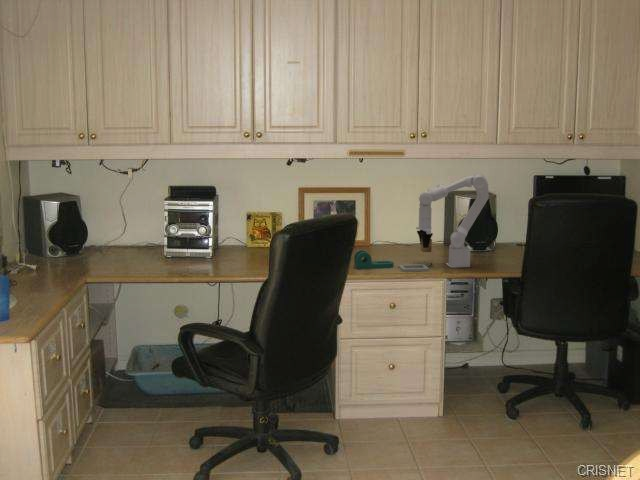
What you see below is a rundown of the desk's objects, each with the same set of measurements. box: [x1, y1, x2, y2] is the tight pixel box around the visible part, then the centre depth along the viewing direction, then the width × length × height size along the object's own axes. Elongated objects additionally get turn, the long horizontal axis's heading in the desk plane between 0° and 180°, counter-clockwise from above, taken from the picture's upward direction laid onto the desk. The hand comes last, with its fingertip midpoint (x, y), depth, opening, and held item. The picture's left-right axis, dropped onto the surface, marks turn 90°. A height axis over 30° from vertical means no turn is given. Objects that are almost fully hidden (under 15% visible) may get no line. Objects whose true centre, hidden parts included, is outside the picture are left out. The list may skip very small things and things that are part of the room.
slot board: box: [398, 263, 430, 273], centre depth 318 cm, size 12×9×1 cm
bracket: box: [353, 249, 394, 270], centre depth 322 cm, size 18×7×8 cm, turn 98°
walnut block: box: [420, 238, 433, 253], centre depth 325 cm, size 4×4×6 cm
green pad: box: [417, 262, 431, 267], centre depth 327 cm, size 6×6×1 cm
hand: (424, 246), depth 325 cm, fingers closed on walnut block, 4 cm apart
